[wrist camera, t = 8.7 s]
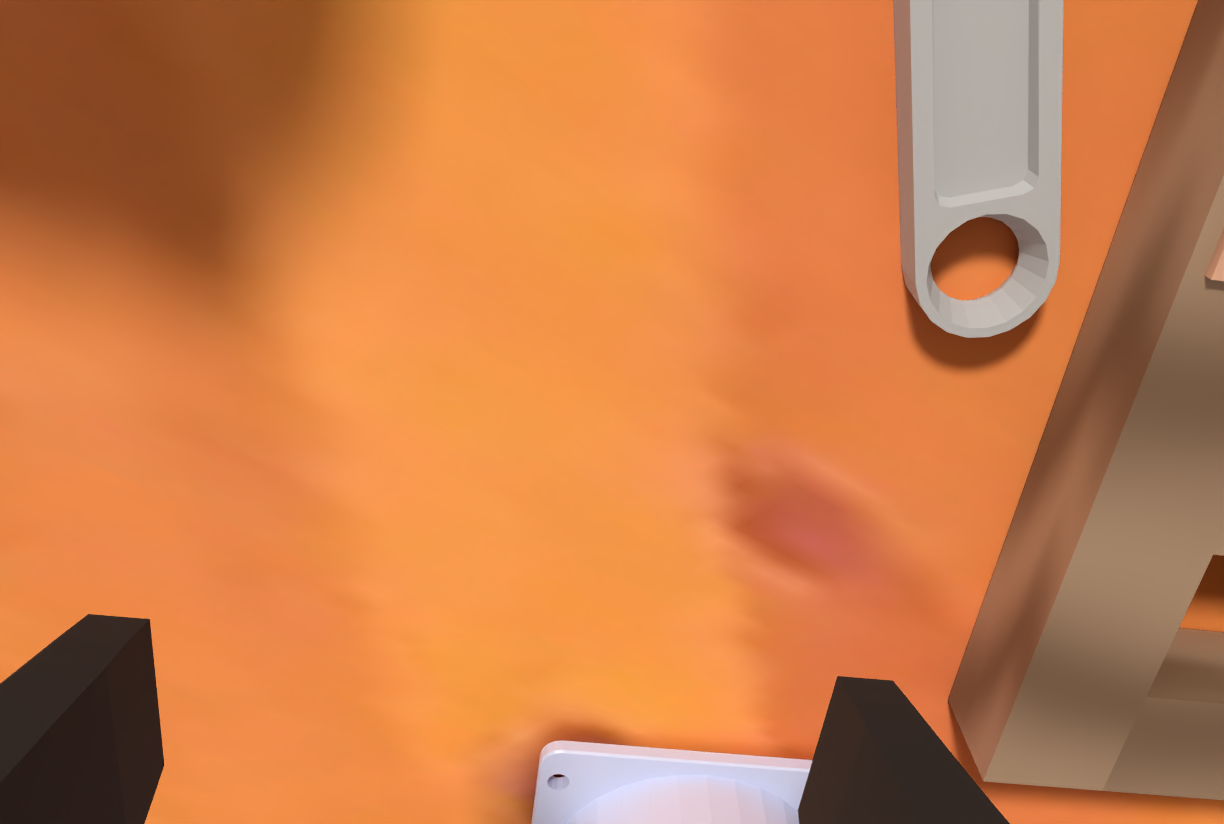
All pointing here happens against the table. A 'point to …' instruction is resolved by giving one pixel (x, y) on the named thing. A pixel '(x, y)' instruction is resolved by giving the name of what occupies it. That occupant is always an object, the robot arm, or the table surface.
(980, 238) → the table surface
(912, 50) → the adjustable wrench
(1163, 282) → the dock board
